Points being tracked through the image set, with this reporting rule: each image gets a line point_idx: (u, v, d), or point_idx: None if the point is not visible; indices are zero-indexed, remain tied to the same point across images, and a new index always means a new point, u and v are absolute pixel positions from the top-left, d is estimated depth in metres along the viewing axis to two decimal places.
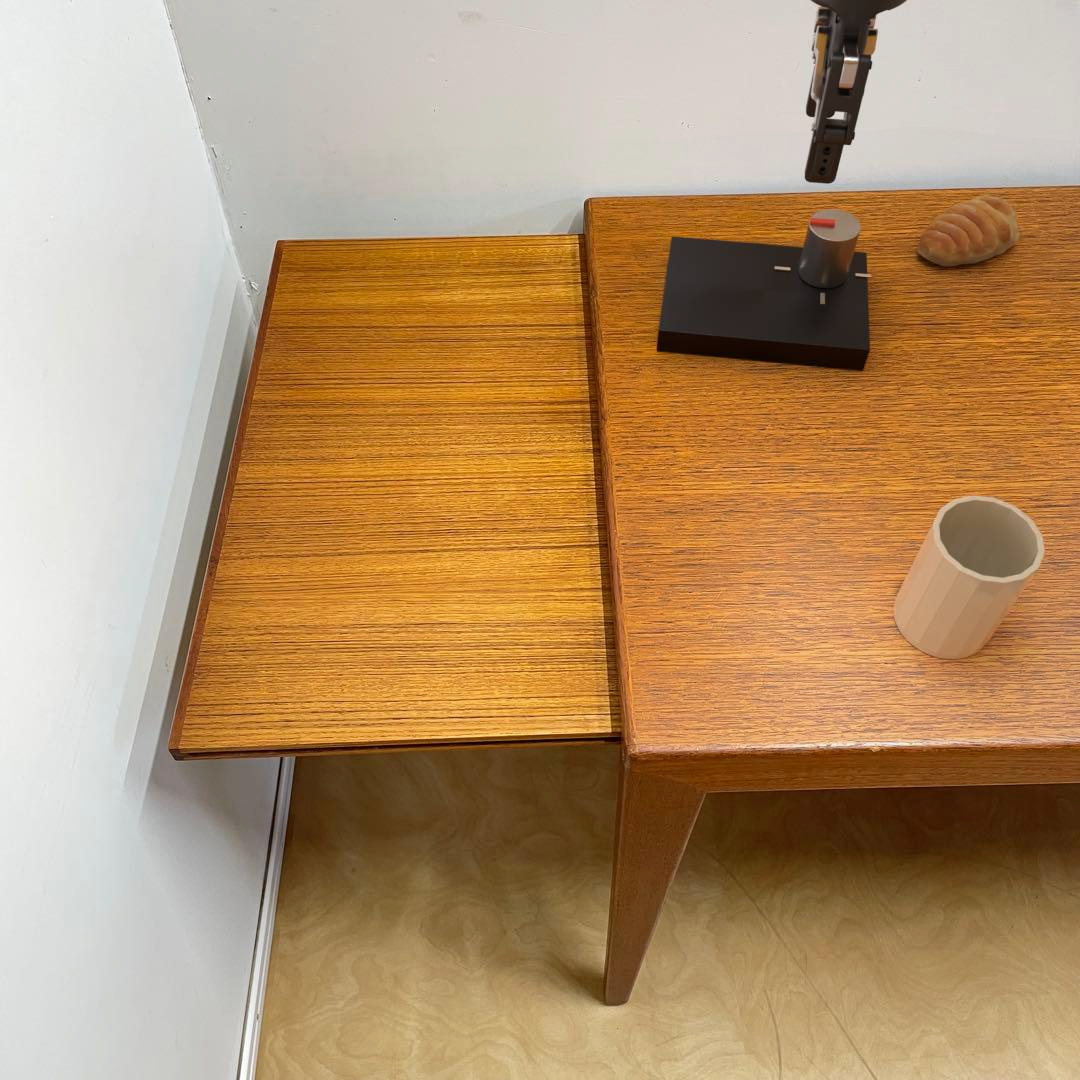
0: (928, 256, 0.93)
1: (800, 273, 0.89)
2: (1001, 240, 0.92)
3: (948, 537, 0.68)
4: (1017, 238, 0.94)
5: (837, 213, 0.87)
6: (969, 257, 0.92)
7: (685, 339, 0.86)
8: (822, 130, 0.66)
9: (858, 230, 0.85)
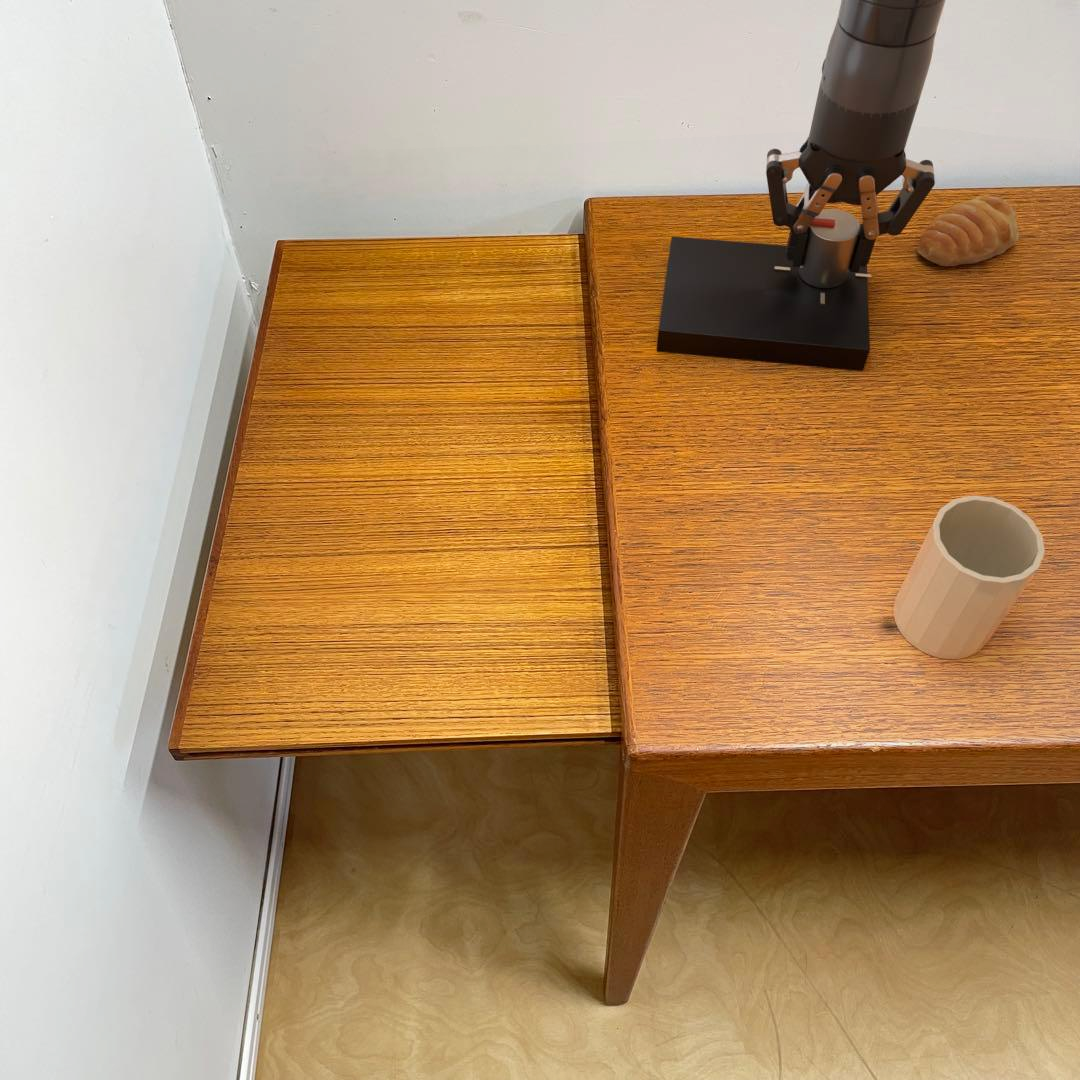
0: (928, 256, 0.93)
1: (800, 273, 0.89)
2: (1001, 240, 0.92)
3: (948, 537, 0.68)
4: (1017, 238, 0.94)
5: (837, 213, 0.87)
6: (969, 257, 0.92)
7: (685, 339, 0.86)
8: None
9: (858, 230, 0.85)
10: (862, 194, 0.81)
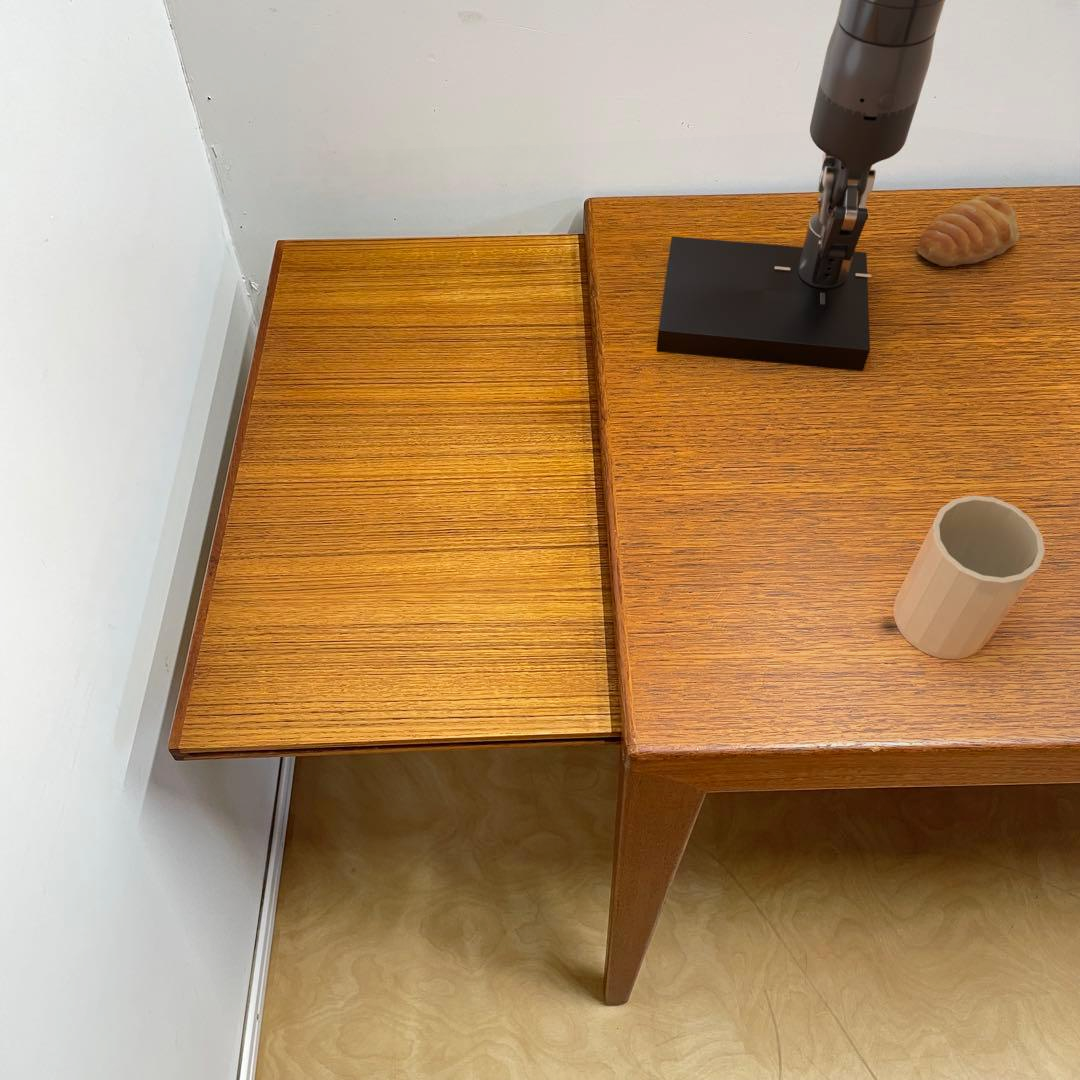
0: (928, 256, 0.93)
1: None
2: (1001, 240, 0.92)
3: (948, 537, 0.68)
4: (1017, 238, 0.94)
5: None
6: (969, 257, 0.92)
7: (685, 339, 0.86)
8: None
9: None
10: None
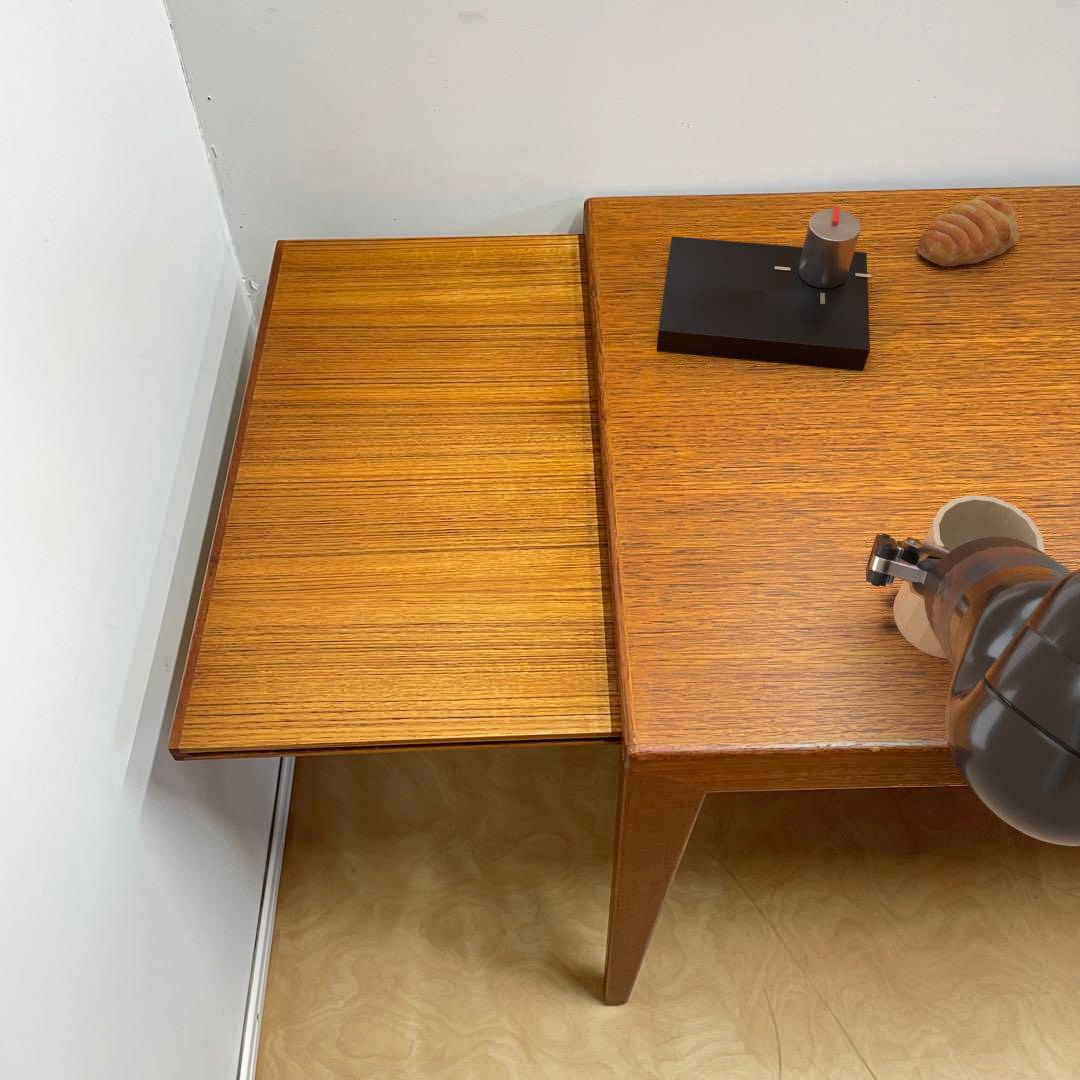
0: (928, 256, 0.93)
1: None
2: (1001, 240, 0.92)
3: (948, 537, 0.68)
4: (1017, 238, 0.94)
5: (853, 228, 0.85)
6: (969, 258, 0.92)
7: (685, 339, 0.86)
8: (875, 540, 0.65)
9: (827, 238, 0.85)
10: None
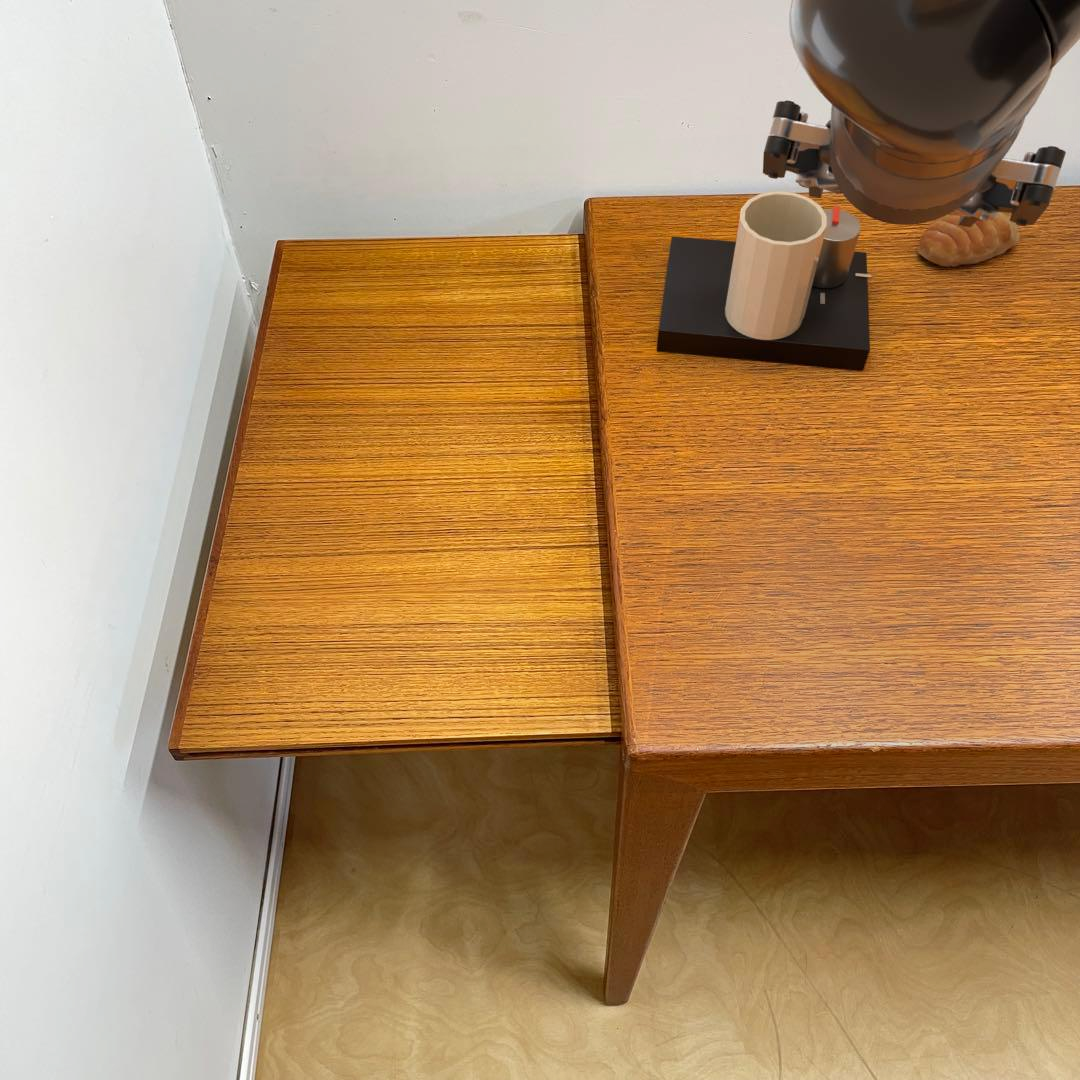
0: (928, 256, 0.93)
1: None
2: (1001, 240, 0.92)
3: (763, 236, 0.84)
4: (1017, 238, 0.94)
5: (853, 228, 0.85)
6: (969, 258, 0.92)
7: (685, 339, 0.86)
8: None
9: (827, 238, 0.85)
10: None
